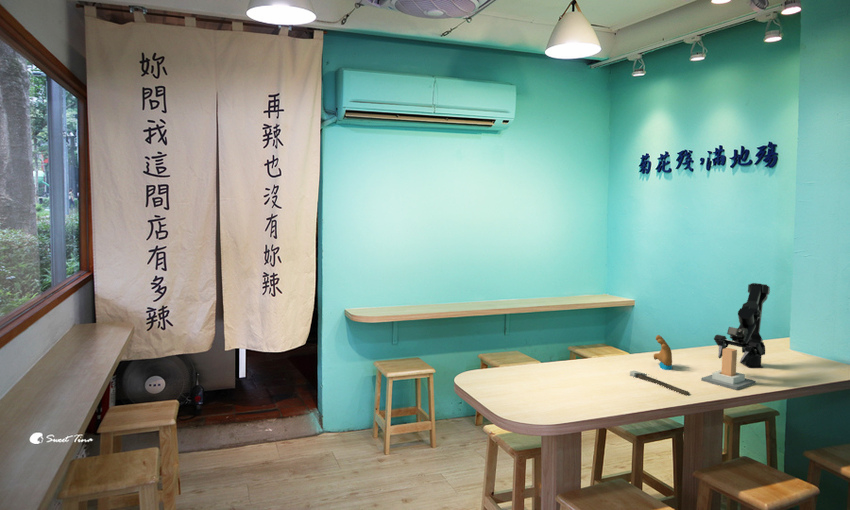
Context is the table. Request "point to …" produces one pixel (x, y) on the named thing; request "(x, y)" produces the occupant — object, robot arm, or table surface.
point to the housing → (728, 380)
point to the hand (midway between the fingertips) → (729, 360)
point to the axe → (642, 376)
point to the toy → (664, 354)
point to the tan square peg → (729, 361)
